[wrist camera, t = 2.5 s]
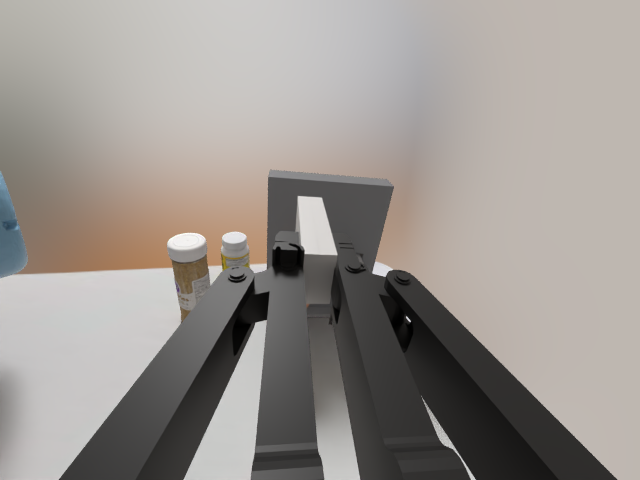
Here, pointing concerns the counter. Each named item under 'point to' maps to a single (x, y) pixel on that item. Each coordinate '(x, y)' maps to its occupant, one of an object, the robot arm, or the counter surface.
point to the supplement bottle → (234, 250)
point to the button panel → (331, 212)
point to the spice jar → (189, 269)
